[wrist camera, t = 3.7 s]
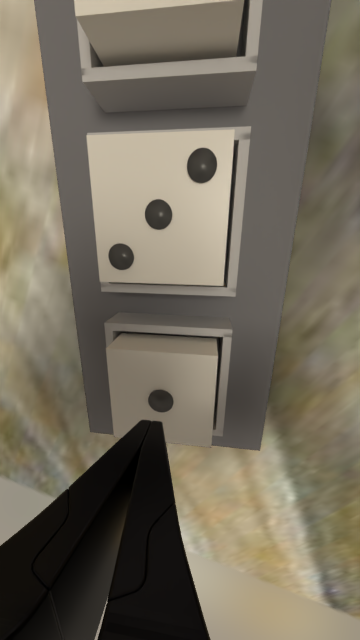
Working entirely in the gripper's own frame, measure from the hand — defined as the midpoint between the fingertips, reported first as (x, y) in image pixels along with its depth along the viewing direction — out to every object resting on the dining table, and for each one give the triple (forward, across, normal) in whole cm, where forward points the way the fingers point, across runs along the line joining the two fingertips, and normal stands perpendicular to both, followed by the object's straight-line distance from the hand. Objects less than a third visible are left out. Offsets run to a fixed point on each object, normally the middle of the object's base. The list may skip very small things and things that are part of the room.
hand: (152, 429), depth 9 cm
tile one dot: (+4, 0, 0) cm, 4 cm away
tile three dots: (+4, 0, -8) cm, 9 cm away
